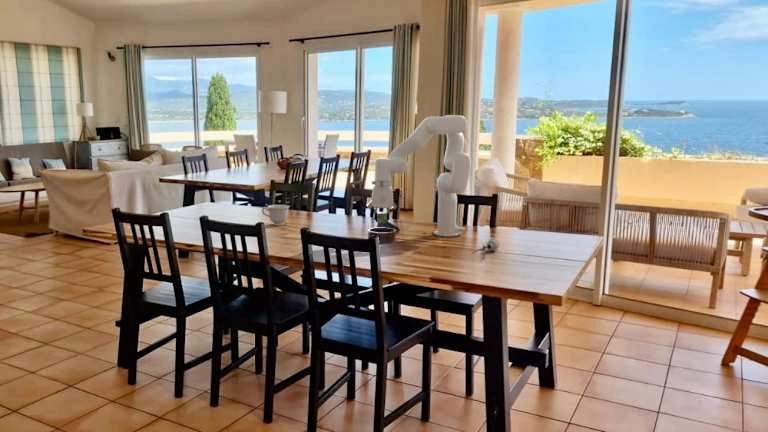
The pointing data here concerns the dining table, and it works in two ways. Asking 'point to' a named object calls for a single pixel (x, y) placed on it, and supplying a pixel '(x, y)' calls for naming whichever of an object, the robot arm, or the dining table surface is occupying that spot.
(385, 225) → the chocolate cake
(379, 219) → the green cube
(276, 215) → the teacup
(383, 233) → the bowl
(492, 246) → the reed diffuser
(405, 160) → the robot arm
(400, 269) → the dining table surface
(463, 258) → the dining table surface
